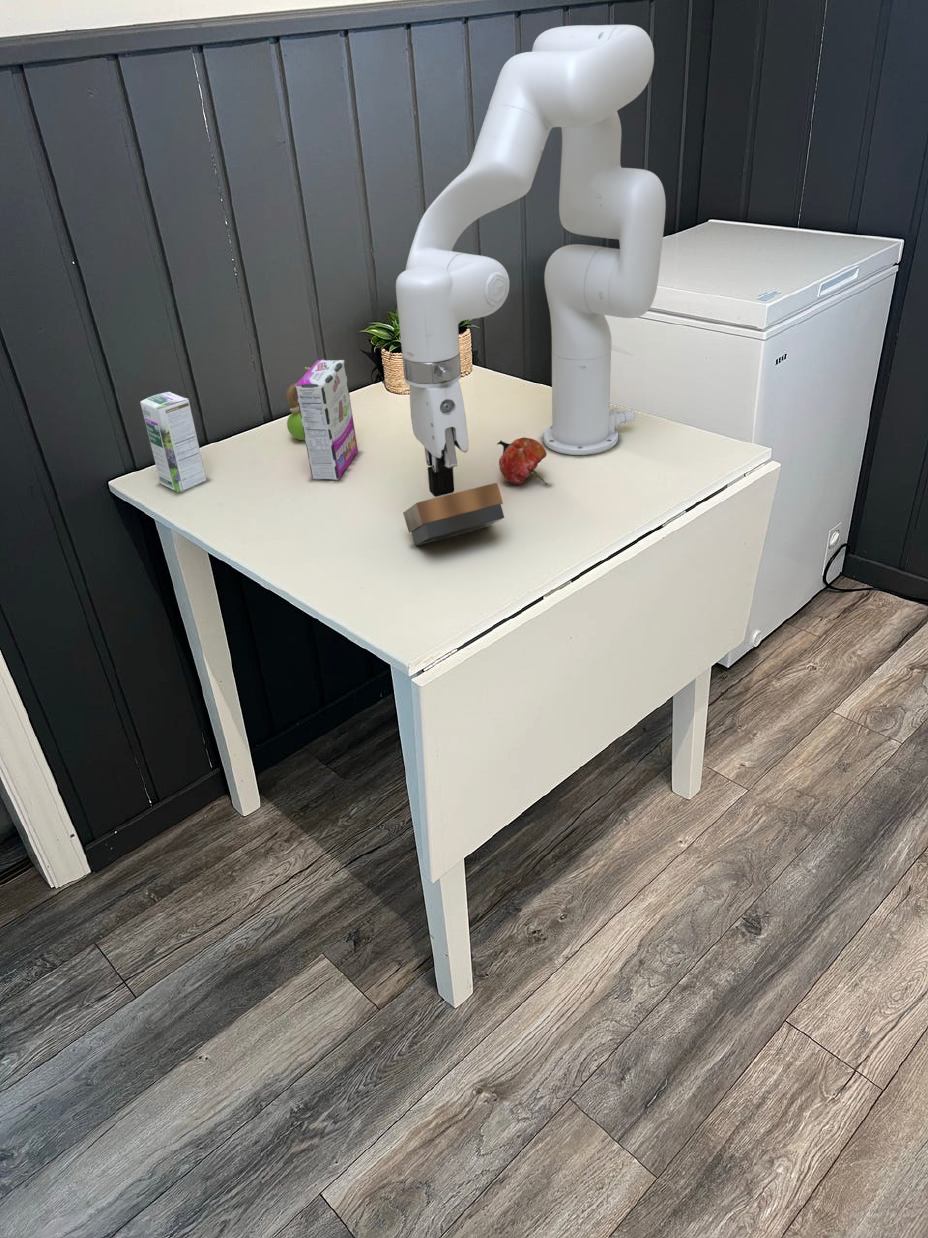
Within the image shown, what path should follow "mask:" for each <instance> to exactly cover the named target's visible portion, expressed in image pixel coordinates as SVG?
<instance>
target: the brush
mask: <svg viewBox="0 0 928 1238" xmlns="http://www.w3.org/2000/svg"><path fill="white" fill-rule="evenodd" d="M503 504H504V502H503V497H502V494H501V491H500V488H499V483H498V482H494V483H488V484H485V485H481V486H478V487H477V486H476V487H473V488H470V489H466V490H462V491H458V492H453V493H450V494H446V495H442V496H438V497H434V498H429V499H426V500H422V501H418V502H416V503H414V504H413V505H412V506H410V507H409V508H408V509H406V510H405V511H403V513H402V515H403V518H404V521H405V525H406V528H407V531H408V533H409V534H410V533H411V537H412V540H413V542H414V546H415V547H416V546H419V545H423V544H427V543H431V542H435V541H439V540H442V539H445V538H449V537H453V536H454V537H455V536H457V535H460V534H464V533H468V532H472V531H477V530H479V529H484V528H487V527H489V526H491V525H493V524H495V523H497V522H499V521H502V520H503V519H505V514H504V511H503V508H502V507H503V506H502V505H503Z"/></svg>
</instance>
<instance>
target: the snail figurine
mask: <svg viewBox="0 0 928 1238" xmlns="http://www.w3.org/2000/svg"><path fill="white" fill-rule="evenodd" d="M310 368H311V367H310V366H309V367H307V366H305V367H304V370H305V372H306V373H307V372H308V371H309V369H310ZM297 383H298V382H294V383H291V384H290V385H289V386H288V388H287V390H286V393H285V394H286V395H285V399H286V403H287V404H288V405H289V407H290V408H289V412H291V413H290V415H289V416H288V418H287V421H286V428H287V431H288V433H289V434H290V435H291V437H293V438H294V439H296V440H298V441H305V436H304V430H303V426H302V420H301V415H300V410H299V404H298V398H297V394H296V388H295V385H296V384H297Z"/></svg>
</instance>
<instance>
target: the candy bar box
mask: <svg viewBox="0 0 928 1238" xmlns="http://www.w3.org/2000/svg"><path fill="white" fill-rule="evenodd" d="M309 368H310V369H309V371H308V370H307V372H306V373H305V374H304V375H302V377H301V378H300V380H299V381H298V382H296V383H297V384H296V385H295V388H296V394H297V398H298V404H299V410H300V415H301V420H302V426H303V430H304V436H305V440H304V442H305V446H306V453H307V457H308V463H309V468H310V473H311V474H310V475H311V478H312V480H316V481H340V479H341V478H342V476H343V475H344V474H345V472H346V470H347V469H348V467H349V466H350V465H351V463H352V461H353V460H354V459H355V457H356V456H357V454H358V453H359V449H358V442H357V435H356V430H355V423H354V422H355V421H354V417H353V416H354V415H353V410H352V403H351V397H350V389H349V384H348V377H347V376H348V375H347V371H346V369H347V368H346V362H345V359H317V360H316V361H315V362H314V363H313V365H312V366H311V367H309Z"/></svg>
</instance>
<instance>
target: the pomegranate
mask: <svg viewBox="0 0 928 1238" xmlns="http://www.w3.org/2000/svg"><path fill="white" fill-rule="evenodd" d="M497 445H501V446H502V448H503V449H502V455H501V456H500V458H499V460H498V466H499V472H500V473H501V476H503V478H504V479H505V480H506V481H507V482H508V483H510V484H513V485H515V486H519V485H520V486H521V485H522V484H523V483H524V482H525V481H526V479H527V477H528V476H530V475H531V474H533V475H534V476H535V477H536V478H538V479H540V480H541V481H542V482H543V484H545V485H548V483H547V482H546V481H545V480H544V479H543V477H541V476H540V475H539V474H538V473H537V472H536V471H535V469H536V468H537V467H538V465H539V463H541V462H542V461H543V460H544V459H545V458H546V457H547V453H548V452H547V450H546V449H545V448H544V446H543V445H542V444H541V443H540V442H539V441H538V440H536V439H534V438H531V437H524V436H523V437H519V438H516V439H515V440H513V441H512V442H511V443H507V442H505V441H503V440H501V439H500V440H499V442H497Z"/></svg>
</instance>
